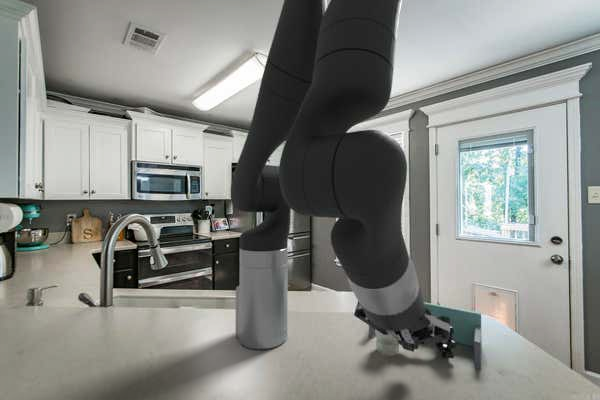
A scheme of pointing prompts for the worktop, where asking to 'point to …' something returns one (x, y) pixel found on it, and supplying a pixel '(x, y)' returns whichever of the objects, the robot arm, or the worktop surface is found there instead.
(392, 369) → the worktop surface
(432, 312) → the walled bay
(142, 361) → the worktop surface
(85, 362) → the worktop surface
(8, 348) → the worktop surface
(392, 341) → the valve
